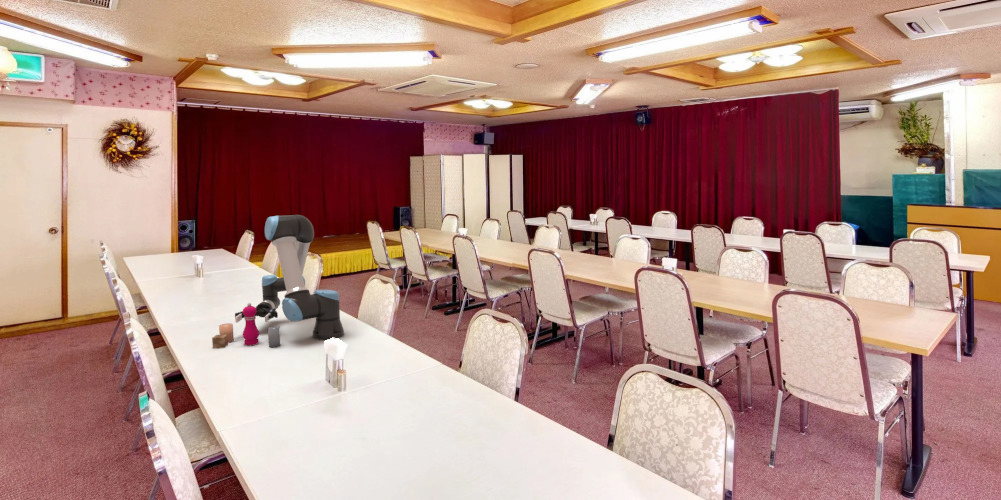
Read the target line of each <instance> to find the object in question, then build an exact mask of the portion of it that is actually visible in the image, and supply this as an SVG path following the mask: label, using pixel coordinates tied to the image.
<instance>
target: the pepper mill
mask: <svg viewBox="0 0 1001 500" xmlns="http://www.w3.org/2000/svg"><path fill="white" fill-rule="evenodd" d="M242 311H243V314H244V315H245V316H244V318H243V319H244V321H245V326H244V328H243V332H242V338H243V339H244V340H243V342H244V343H243V344H244V345H245V346H254V345H257V344H259V338H258V337H260V331H259V328H258V327H257V325H256V319H257V316H255V314H256V312H257V310H256V306H253V305H252V303H251V302H248V303H247V305H246V306H245V307H243V310H242Z"/></svg>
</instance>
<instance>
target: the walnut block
mask: <svg viewBox="0 0 1001 500" xmlns="http://www.w3.org/2000/svg"><path fill="white" fill-rule="evenodd" d="M211 342H212V349H225V348H226V347H227V346H228V345H229V343H228V335H220V334H216V335H215V334H214V336H213V337H211Z"/></svg>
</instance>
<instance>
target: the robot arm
mask: <svg viewBox="0 0 1001 500" xmlns="http://www.w3.org/2000/svg"><path fill="white" fill-rule="evenodd" d="M264 237H265V239H266V240H267V241H270V242H271V244H272V246H274V247H275V248H276V251H277V258H278V260H279V263H280V269H281V273H282V277H278V276H277V275H275V274H267V275H263V276H262V277H261V289H262V301H261V302H260V303H258V304H257V305H256V306H255V308H256V310H257V312H256V314H255V316H256V317H259V318H264V322H265V323H267V322H269V320H271V319H273V318H274V319H275V318H276V319H277V318H278V317H279V316H278V311H277V309H278V308H279V306H281V305H282V306H281V308H282V312H283V315H284V316H285V318H286V319H288V320H289V321H290V322H301V321H305V320H310V319H315V323H314V327H313V330H312V337H313V339H316V340H329V339H328V338H332V337H337V338H336V339H339V338H341V337H342V336H344V335H345V329H344V327H343V324H342V322H341V315H340V314H341V311H340V309H341V308H340V306H341V305H340V294H339V292H338V291H336V290H333V289H316V290H314V292H313V293H312V294H311V293H310V292H311V291H310V290H309V289H308V288H307V287H305V286H306V279H305V277H304V275H303V273H304V269H305V265H306V261H307V258H308V253H309V249H310V247H311V246H310V244H311V243H312V242H313V241H314V238H315V230H314V226H313V224H312V222H311V221H310V220H309V219H308V218H307V217H306V216H304V215H301V214H293V215H292V214H291V215H274V216H269V217H267V218H266V221H265V225H264ZM279 292H280V293H281V292H286V293H285V294H284V298H283V299H282V301H281V300H280V298H279V296H278V295H279V294H278V293H279ZM244 316H245V315H244V314H243V310H241V311H238V312H235V313H234V319H235V323H237V324H238V323H239V322H240V321H242V320H243V319H244Z"/></svg>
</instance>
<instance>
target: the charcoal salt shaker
mask: <svg viewBox="0 0 1001 500" xmlns="http://www.w3.org/2000/svg"><path fill="white" fill-rule="evenodd" d="M280 331H281V329H280V326H278V325H273V326H268V327H267V337H268V348H271V349H272V348H273V349H274V348H275V349H276V348H279V347H281V333H280Z"/></svg>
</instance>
